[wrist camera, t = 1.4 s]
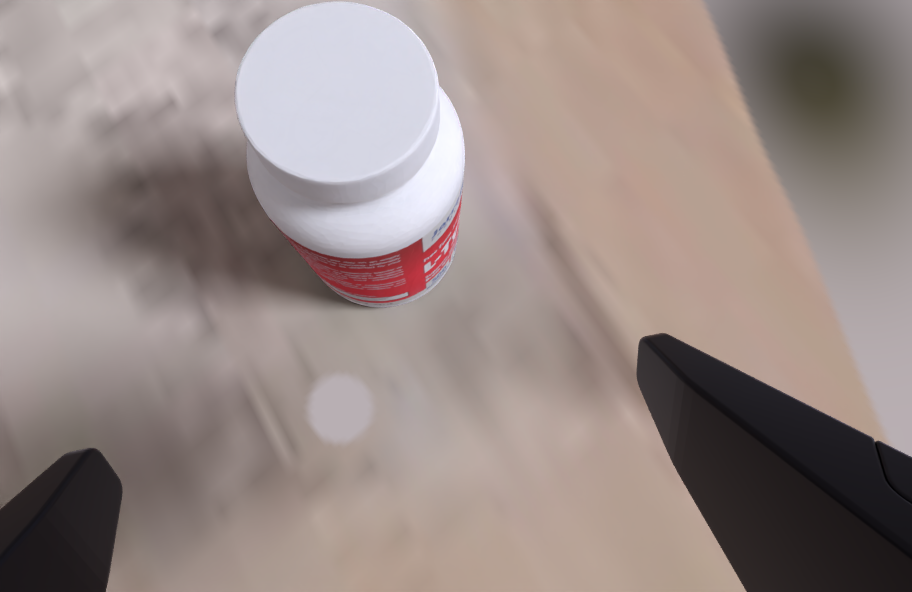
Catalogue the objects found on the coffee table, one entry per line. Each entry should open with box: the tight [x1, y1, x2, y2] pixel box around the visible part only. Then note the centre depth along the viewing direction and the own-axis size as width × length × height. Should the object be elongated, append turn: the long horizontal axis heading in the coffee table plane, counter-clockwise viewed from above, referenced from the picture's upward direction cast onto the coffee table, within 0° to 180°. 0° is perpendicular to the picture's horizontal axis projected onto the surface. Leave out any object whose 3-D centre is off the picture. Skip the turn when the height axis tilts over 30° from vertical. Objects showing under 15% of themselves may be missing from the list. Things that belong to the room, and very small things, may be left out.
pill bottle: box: [235, 1, 465, 307], centre depth 18 cm, size 6×6×11 cm
